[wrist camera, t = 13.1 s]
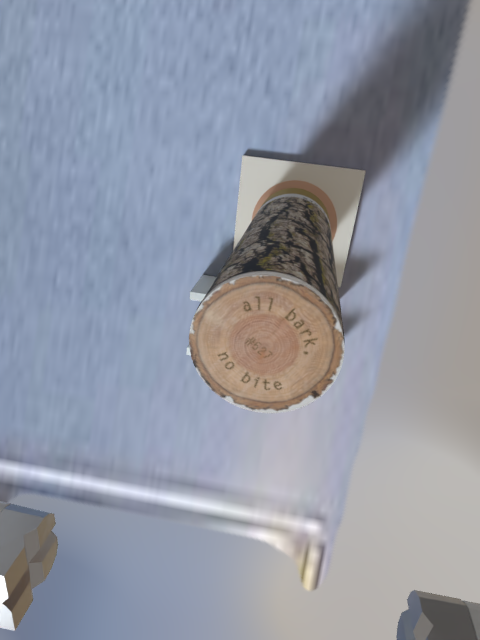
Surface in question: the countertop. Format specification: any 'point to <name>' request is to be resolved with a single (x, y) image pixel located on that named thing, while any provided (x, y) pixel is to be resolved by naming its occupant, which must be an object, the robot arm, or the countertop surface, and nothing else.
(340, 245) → the resting pad
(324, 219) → the wooden log
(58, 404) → the countertop surface
